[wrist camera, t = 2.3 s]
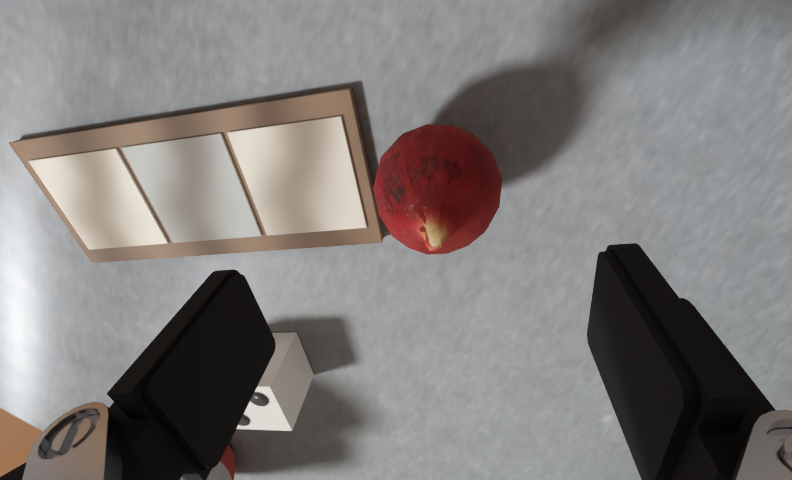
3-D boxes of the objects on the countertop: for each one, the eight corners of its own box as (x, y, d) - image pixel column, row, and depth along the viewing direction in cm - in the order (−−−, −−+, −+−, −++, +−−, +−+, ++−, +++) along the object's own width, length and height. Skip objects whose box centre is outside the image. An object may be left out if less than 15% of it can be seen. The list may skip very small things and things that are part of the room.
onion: (366, 164, 21) (325, 237, 14) (436, 82, 18) (425, 125, 12) (441, 227, 23) (435, 319, 16) (516, 159, 20) (547, 237, 13)
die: (296, 332, 29) (269, 387, 25) (313, 375, 32) (291, 432, 28) (239, 333, 30) (203, 387, 26) (260, 375, 33) (231, 429, 29)
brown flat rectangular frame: (351, 87, 19) (348, 90, 18) (383, 237, 24) (381, 243, 23) (18, 140, 24) (6, 143, 23) (98, 258, 28) (90, 264, 27)
